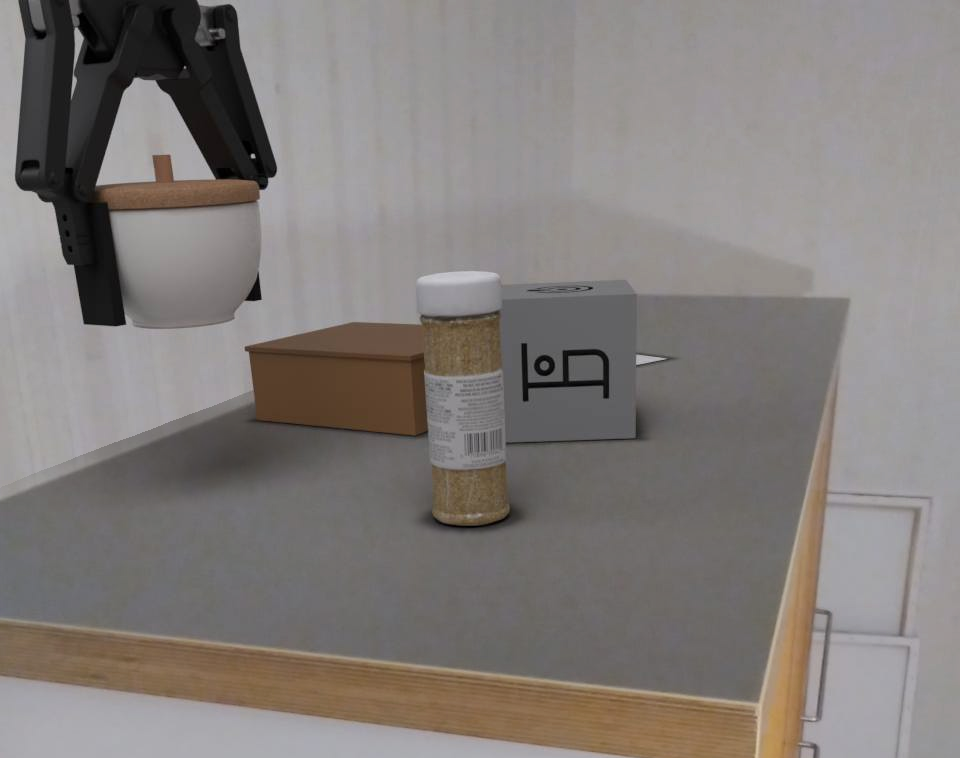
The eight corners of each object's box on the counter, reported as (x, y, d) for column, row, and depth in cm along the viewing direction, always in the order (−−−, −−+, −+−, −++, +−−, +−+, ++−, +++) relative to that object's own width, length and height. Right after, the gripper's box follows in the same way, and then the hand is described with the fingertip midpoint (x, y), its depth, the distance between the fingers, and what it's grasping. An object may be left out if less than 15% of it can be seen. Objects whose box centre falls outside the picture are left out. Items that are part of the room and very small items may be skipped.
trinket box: (303, 309, 71) (287, 149, 68) (214, 337, 62) (191, 154, 58) (159, 308, 75) (136, 155, 71) (55, 334, 66) (22, 160, 62)
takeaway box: (253, 420, 93) (244, 346, 90) (359, 388, 104) (353, 321, 101) (416, 436, 84) (410, 355, 82) (512, 400, 96) (509, 327, 93)
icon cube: (497, 442, 81) (491, 300, 77) (500, 414, 90) (495, 285, 86) (635, 438, 81) (636, 294, 77) (625, 409, 90) (625, 279, 86)
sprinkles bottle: (499, 502, 67) (490, 267, 62) (518, 523, 63) (510, 274, 58) (425, 510, 66) (409, 273, 61) (439, 532, 62) (423, 280, 57)
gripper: (-28, -172, 49) (65, 343, 58) (313, -94, 67) (343, 291, 76) (-128, -145, 53) (-27, 336, 61) (220, -77, 70) (260, 287, 79)
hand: (178, 311), depth 68 cm, fingers closed on trinket box, 11 cm apart
